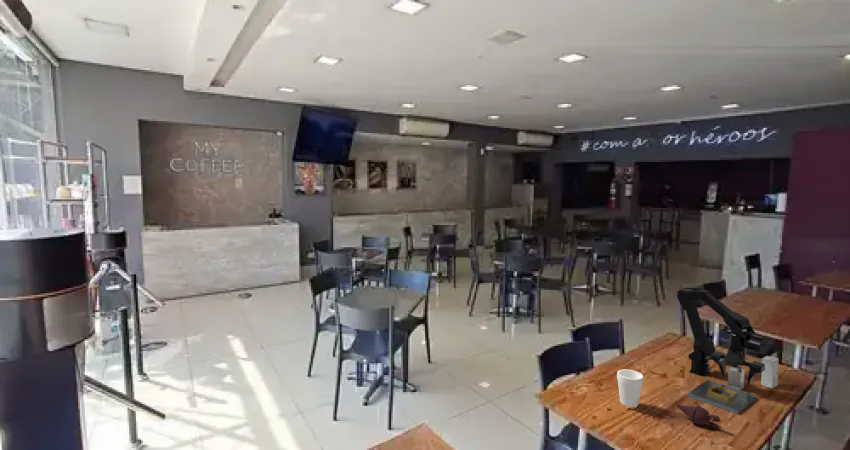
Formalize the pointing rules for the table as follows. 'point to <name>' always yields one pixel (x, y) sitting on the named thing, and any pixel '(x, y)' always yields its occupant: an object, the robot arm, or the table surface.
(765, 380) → the skincare box
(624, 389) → the foam cup
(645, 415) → the table surface
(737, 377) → the brushed metal block
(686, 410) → the icecream
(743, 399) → the grey peg insertion board
